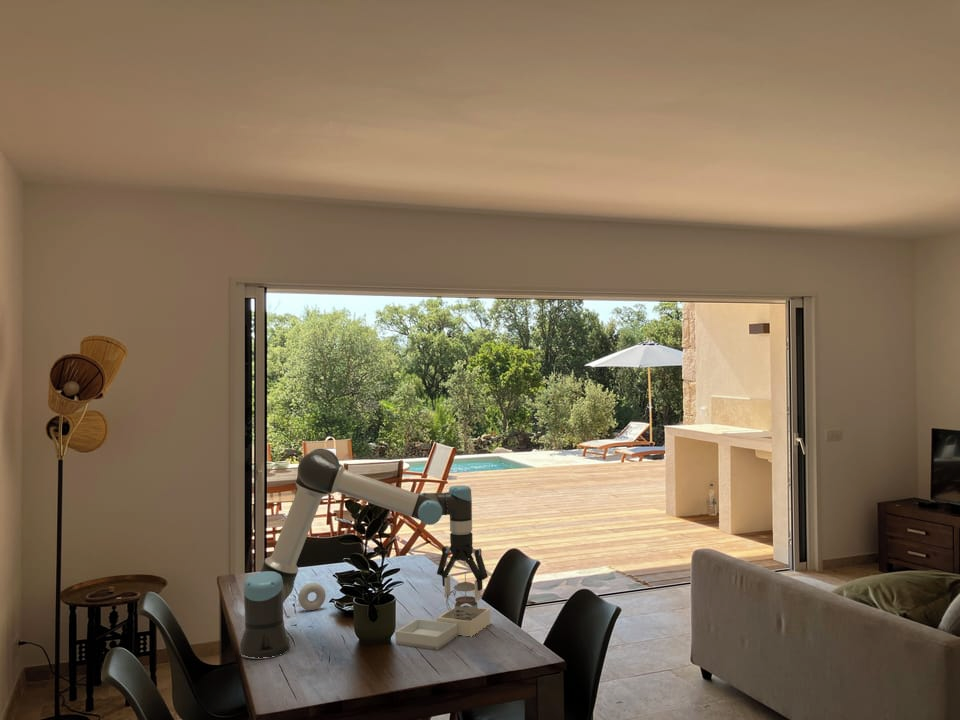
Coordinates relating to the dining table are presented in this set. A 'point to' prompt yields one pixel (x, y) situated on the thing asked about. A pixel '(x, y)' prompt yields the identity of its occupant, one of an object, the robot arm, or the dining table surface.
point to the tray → (426, 634)
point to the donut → (305, 592)
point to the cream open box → (467, 626)
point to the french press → (462, 600)
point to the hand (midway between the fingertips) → (462, 598)
